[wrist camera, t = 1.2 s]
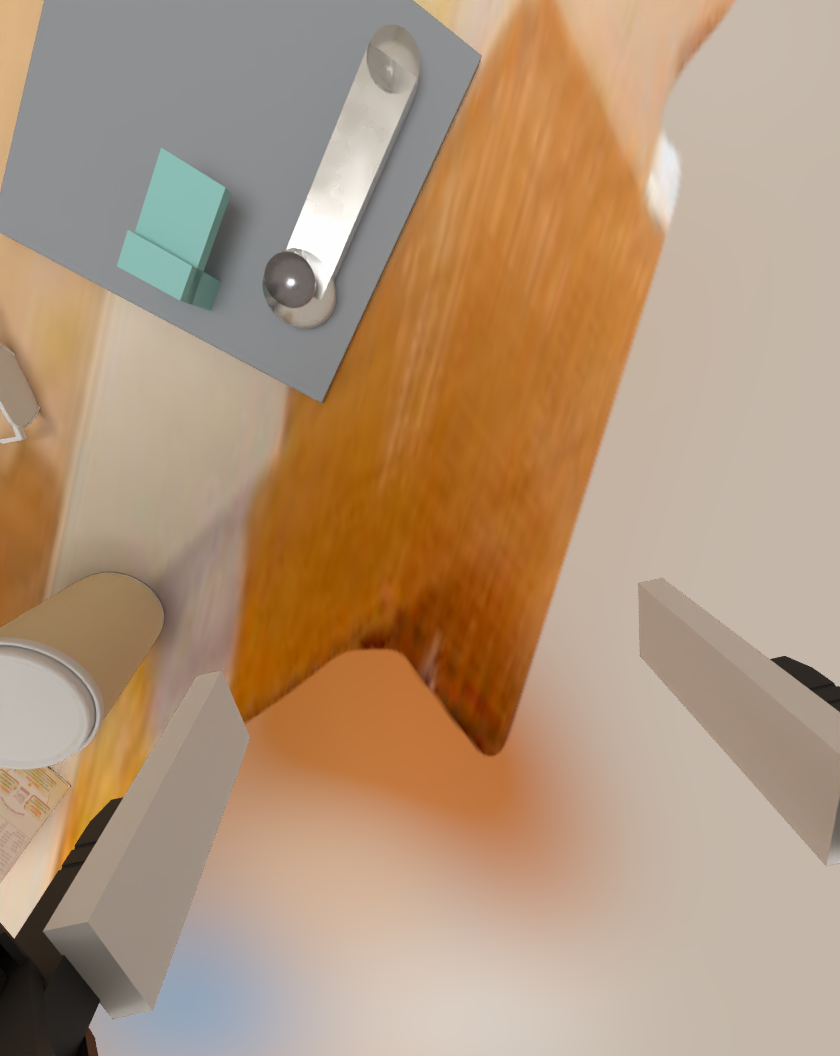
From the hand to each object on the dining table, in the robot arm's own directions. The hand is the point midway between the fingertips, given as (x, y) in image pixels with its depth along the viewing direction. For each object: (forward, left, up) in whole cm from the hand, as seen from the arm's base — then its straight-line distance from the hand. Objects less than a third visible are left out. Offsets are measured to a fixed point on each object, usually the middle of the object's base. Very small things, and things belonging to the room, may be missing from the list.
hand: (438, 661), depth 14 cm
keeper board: (-19, +14, -24) cm, 34 cm away
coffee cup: (-16, -21, -24) cm, 36 cm away
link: (-12, +15, -23) cm, 30 cm away
